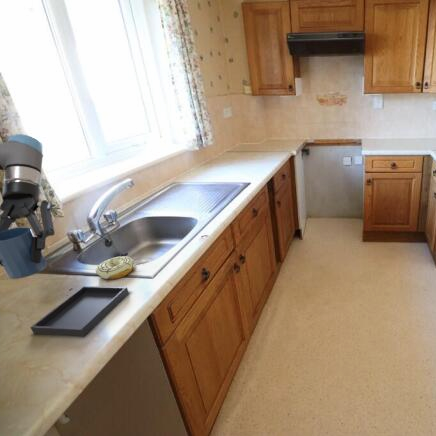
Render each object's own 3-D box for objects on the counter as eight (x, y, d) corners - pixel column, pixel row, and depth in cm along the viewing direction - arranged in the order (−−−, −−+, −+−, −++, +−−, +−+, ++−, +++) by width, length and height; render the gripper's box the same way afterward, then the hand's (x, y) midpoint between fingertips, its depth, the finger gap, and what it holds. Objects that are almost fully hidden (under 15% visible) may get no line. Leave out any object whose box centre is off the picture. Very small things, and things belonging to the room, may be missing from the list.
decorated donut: (104, 286, 100) (99, 276, 99) (95, 273, 107) (91, 263, 106) (139, 271, 107) (136, 261, 105) (129, 260, 114) (125, 250, 112)
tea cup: (9, 269, 88) (-10, 233, 83) (47, 258, 92) (31, 224, 88) (6, 282, 82) (-15, 245, 77) (47, 270, 86) (29, 234, 82)
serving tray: (85, 292, 98) (83, 285, 97) (129, 293, 96) (126, 287, 95) (33, 334, 82) (30, 327, 81) (84, 336, 81) (81, 329, 80)
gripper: (72, 187, 96) (70, 261, 88) (-13, 197, 91) (-24, 275, 83) (57, 175, 89) (53, 254, 82) (-36, 185, 84) (-50, 269, 77)
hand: (15, 264), depth 83 cm, fingers closed on tea cup, 8 cm apart
